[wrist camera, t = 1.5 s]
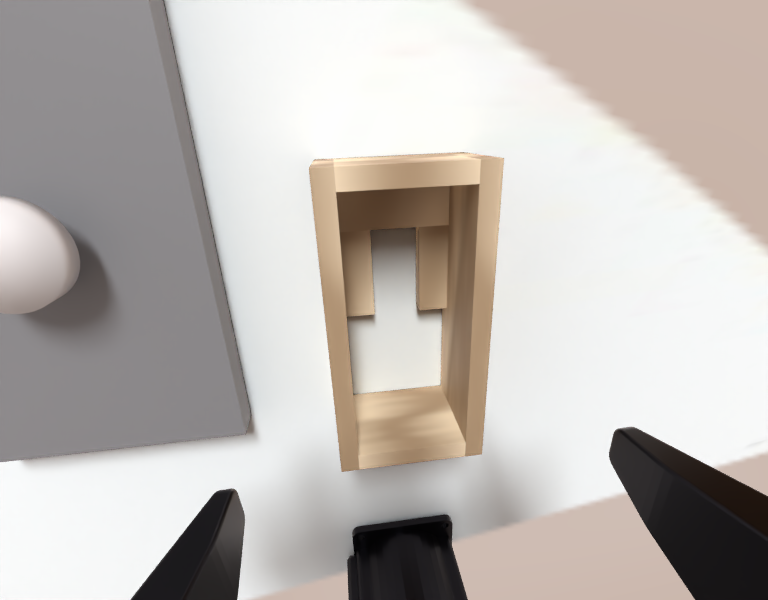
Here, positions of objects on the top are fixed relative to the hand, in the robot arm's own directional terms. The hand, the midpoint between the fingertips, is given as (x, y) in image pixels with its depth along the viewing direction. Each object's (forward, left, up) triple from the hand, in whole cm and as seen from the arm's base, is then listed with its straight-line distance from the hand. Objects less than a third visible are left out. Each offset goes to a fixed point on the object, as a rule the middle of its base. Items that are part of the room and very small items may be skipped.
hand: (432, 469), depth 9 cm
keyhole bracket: (-1, 0, -11) cm, 11 cm away
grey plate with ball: (+13, -4, -11) cm, 18 cm away
